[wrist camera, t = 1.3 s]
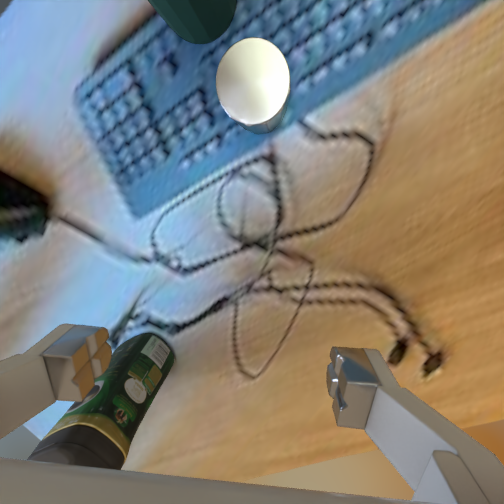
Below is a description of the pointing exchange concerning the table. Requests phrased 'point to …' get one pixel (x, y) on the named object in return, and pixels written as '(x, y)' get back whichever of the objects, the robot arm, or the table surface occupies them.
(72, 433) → the coffee jar
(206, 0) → the bottle
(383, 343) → the table surface
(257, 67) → the cap
